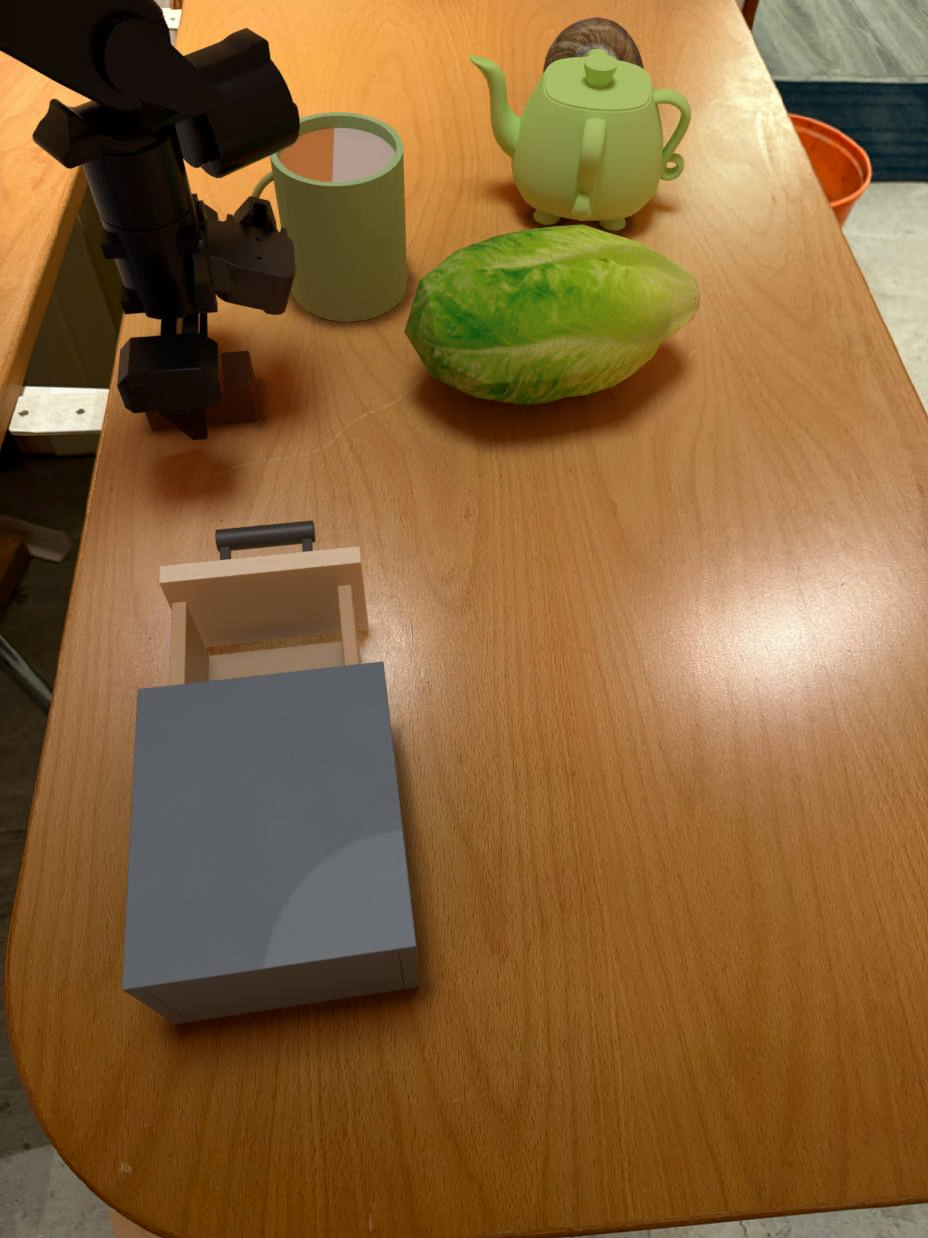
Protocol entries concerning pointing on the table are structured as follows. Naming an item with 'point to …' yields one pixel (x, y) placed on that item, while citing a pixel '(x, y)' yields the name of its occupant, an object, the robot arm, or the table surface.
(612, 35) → the seashell
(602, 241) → the lettuce
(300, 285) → the mug
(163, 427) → the chocolate bar
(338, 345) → the table surface
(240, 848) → the cabinet
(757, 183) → the table surface
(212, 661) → the drawer
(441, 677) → the table surface
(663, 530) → the table surface
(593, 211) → the teapot
